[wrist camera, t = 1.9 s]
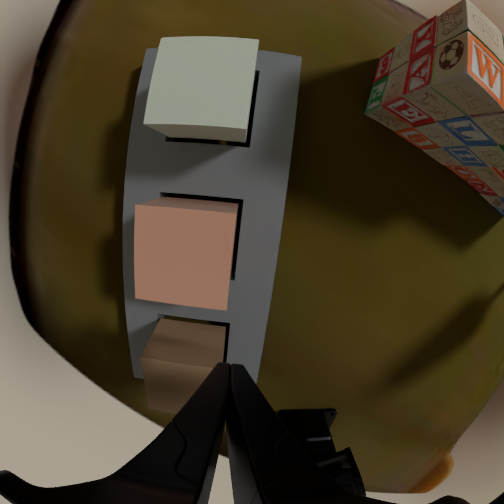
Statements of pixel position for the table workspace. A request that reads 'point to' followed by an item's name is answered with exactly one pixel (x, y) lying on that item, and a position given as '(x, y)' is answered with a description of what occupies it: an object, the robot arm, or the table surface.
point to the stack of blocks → (449, 96)
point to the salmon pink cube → (184, 251)
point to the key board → (219, 185)
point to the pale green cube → (202, 87)
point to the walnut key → (179, 361)
